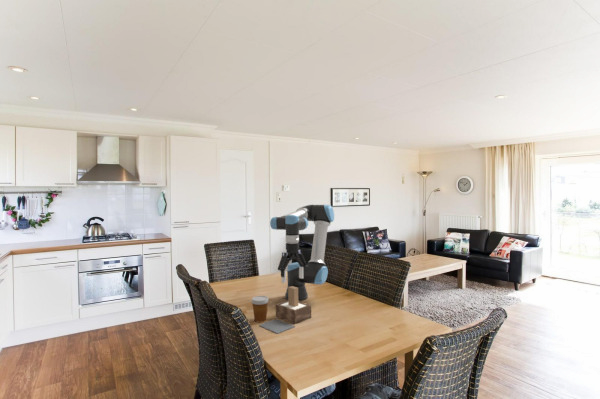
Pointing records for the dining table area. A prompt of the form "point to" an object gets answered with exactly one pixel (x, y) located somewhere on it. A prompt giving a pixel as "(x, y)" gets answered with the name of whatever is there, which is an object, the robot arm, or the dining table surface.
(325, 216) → the robot arm
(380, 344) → the dining table surface
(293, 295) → the cover plate
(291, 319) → the wooden box
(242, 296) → the dining table surface
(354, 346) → the dining table surface
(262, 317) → the disposable coffee cup
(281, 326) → the rubber mat
